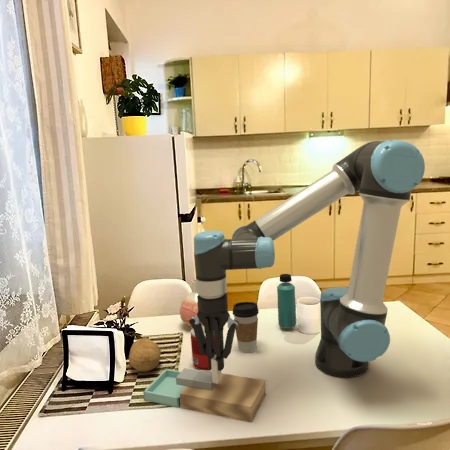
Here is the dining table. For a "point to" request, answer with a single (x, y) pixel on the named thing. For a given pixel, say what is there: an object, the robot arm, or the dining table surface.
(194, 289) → the vase
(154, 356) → the potato
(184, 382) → the tile
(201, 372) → the tile
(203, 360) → the canned food
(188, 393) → the oak board
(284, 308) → the beverage bottle
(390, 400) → the dining table surface
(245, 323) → the coffee cup
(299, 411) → the dining table surface
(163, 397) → the tray
